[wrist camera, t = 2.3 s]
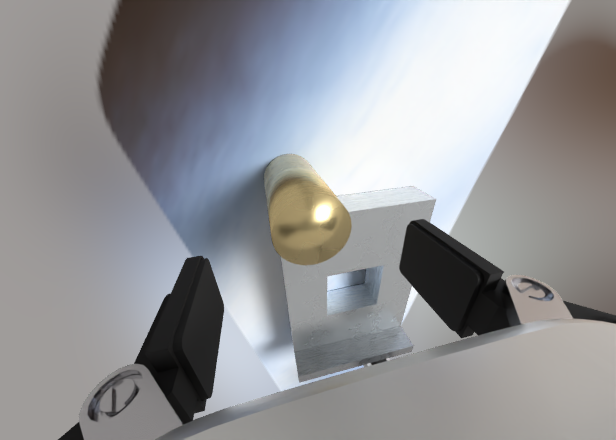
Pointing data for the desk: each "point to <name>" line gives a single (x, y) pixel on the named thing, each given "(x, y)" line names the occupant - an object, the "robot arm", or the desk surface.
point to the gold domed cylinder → (303, 212)
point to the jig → (356, 288)
